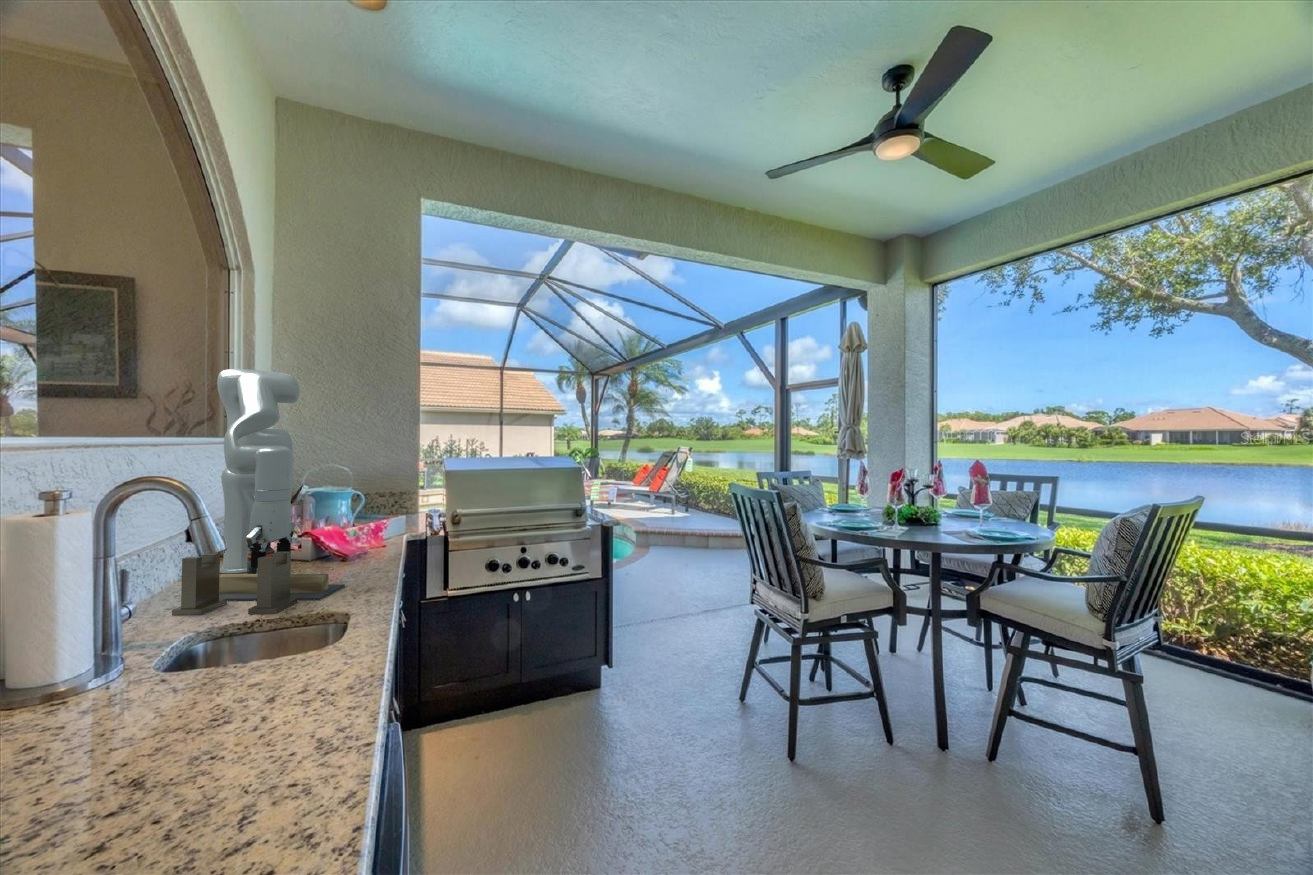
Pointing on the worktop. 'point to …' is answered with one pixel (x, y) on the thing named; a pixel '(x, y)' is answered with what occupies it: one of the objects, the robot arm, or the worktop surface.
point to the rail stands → (204, 585)
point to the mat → (300, 596)
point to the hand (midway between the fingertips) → (271, 562)
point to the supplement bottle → (269, 553)
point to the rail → (249, 583)
